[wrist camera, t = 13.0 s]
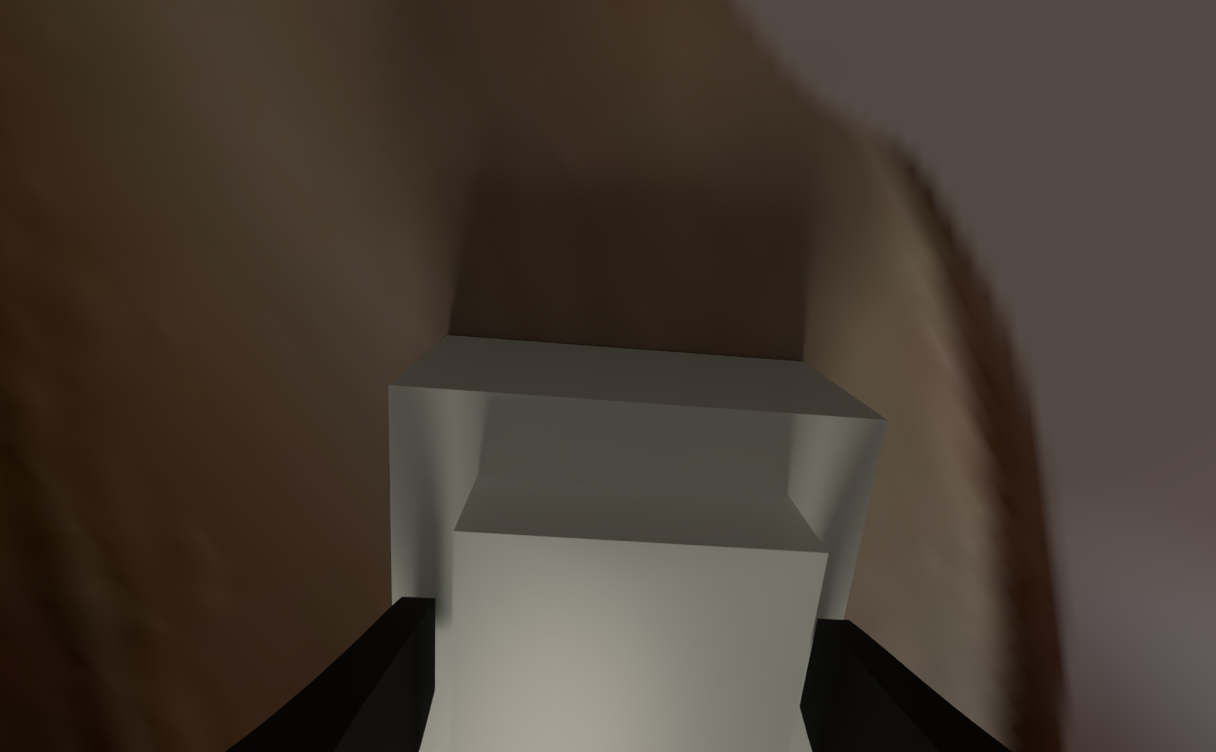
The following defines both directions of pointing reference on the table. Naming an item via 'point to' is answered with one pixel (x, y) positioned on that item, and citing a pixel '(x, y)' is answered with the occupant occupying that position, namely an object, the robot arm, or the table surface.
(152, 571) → the table surface
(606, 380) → the white block
